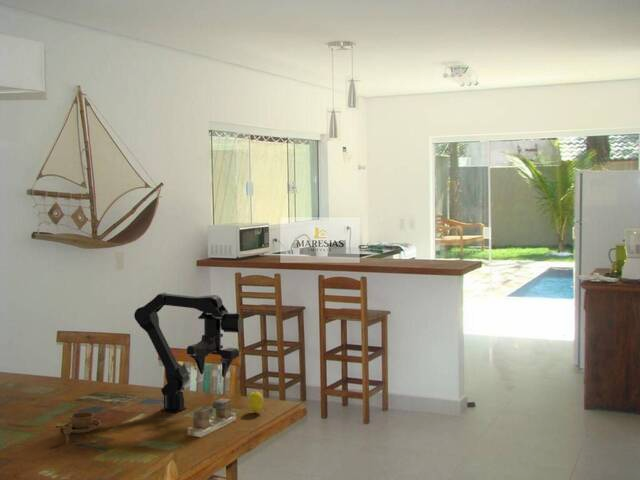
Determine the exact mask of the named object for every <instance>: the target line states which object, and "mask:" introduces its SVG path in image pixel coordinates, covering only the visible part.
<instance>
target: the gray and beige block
mask: <svg viewBox="0 0 640 480" xmlns="http://www.w3.org/2000/svg"><path fill="white" fill-rule="evenodd" d="M212 409H215V417H219V418H225V420H226V419H228V418H230V417H231V413H232V399H230V398H229V399H228V398H223V397H221V398H219V399H217V400H215V401H212Z"/></svg>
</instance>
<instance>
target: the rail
mask: <svg viewBox="0 0 640 480" xmlns="http://www.w3.org/2000/svg"><path fill="white" fill-rule="evenodd" d="M210 415H211V417H210ZM212 415H213V407H208V406H201V407H198V408H196V409H194V410H193V411H192V418H193V419H192V424H193V427H191V426H190V427H188V428H187V435H188V436H192V437H198V438H202V437H203V438H204V436H206V435H209V434H211V433H213V432H215V431H217V430H219V429H221V428H223V427H225V426H227V425H229V424H231V423H233V422H235V421H237V414H236V413H235V412H231V417H230V418H228V419H226V420H225V418H219V417H216V416H212ZM210 418H211V419H210Z"/></svg>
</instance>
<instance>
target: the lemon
mask: <svg viewBox="0 0 640 480" xmlns="http://www.w3.org/2000/svg"><path fill="white" fill-rule="evenodd" d="M264 401H265V400H264V396H263V394H262V393H261V392H260V391H258V390H254V391H252V392H251V393H250V394H249V395H248V398H247V407H248V409H250V411H252V412H253V413H254V414H257V413H258V412H259V411H261V410H262V409H263V407H264Z"/></svg>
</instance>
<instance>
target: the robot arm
mask: <svg viewBox="0 0 640 480" xmlns="http://www.w3.org/2000/svg"><path fill="white" fill-rule="evenodd" d="M164 306H170V307H178V308H179V307H180V308H189V309H195V310H197V311H199V312H202V313H201V314H200V315H199V316H198V318H197V319H199V320H204V321H203V323H204V324H203V325H204V326H203V333H204V334H202V335H201V339H200V341H199V342H198V343H194V344H191V345H187V347H186V350H185V351H186V355H189V356H188V357H190V358H192V359H194V361H195V363H196V366H197V368H198V372H199V374H200V375H203V374H204V371H205V360H206V357H208V356H209V355H218V356H220V357H221V358H220V362H221V376H222V378H225V377H226V374H227V372H228V370H229V368H230V366H231V364H232V362H233V361H234V360H235V359H237V358H238V357H240V352H239V349H238V348H235V347H227V348H224V345H222V343H221V341H222V340H221V339H222V338H223V337H224V334H223V333H222V332H221V331H223V332H224V333H233V334H234V333H237V334H239V333H240V334H241V333H242V331H243V326H244V325H243V318H242V315H241V314H242V313H240V312H235V313H232V312H231V313H230V312H229V311H228V309H227V308H226V307H225V305H224V304H223V300H222V298H221V297H220V296H219V295H217V294H211V295H202V296H194V295H193V296H191V295H184V294H172V293H167V292H161V293H159V294H157V295H156V296H155V297H154V298H152V300H150V301H148V303H146V304H145V305H143V306H141V307H138V308H137V309H136V310H134V314H133V317H134V319H135V321H136V322H137V324H138V325H139V327H140V328H142V330H144V332H146V334H147V335H148V337H149V339H150V341H151V344H152V345H153V347H154V350H155V351H156V354H157V356H158V357H159V359H160V361H161V363H162V365H163V367H164V374H165V376H164V377H165V381H166V382H167V383H166V384H165V385H164V386H163V387H162V388H160V391H161V393H162V395H163V407H162V408H160V411H163V412H164V411H165V412H168V413H169V412H170V413H177V412H180V411H183V410H186V409H187V407H186V406H185V397H184V392H182V391H184V390H185V388H186V386H187V385H188V384H189V383H190V374H191V373H190V372H189V371H188V368H187V367H186V364H185V363H183V364H182V365H181V364H180V363H178V361H177V359H176V357H175V355H174V354H173V351H172V349H171V347H170V346H169V343H168V341H167V339H166V338H165V336H164V334H163V331H162V329H161V327H160V317H159V314H158V312H159V311H161V310H162V309H163V307H164Z"/></svg>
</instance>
